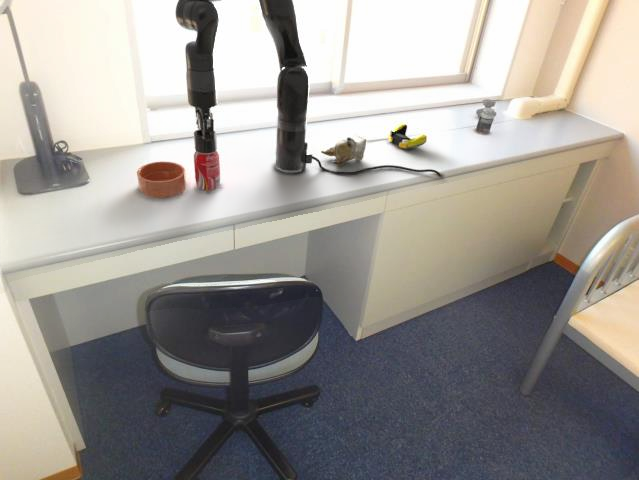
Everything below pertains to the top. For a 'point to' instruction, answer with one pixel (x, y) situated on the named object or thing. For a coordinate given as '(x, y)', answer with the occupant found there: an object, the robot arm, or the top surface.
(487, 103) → the stamp
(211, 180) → the soda can
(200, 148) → the ring
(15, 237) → the top surface
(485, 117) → the pill bottle
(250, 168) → the top surface
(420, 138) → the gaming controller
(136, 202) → the top surface
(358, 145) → the ceramic sculpture
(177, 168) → the bowl
